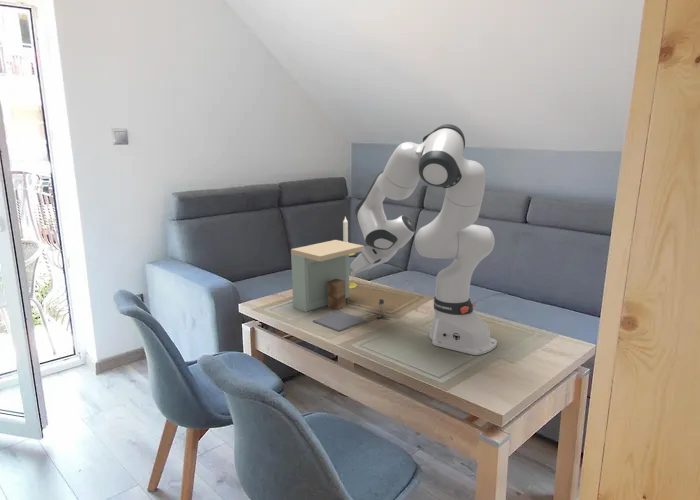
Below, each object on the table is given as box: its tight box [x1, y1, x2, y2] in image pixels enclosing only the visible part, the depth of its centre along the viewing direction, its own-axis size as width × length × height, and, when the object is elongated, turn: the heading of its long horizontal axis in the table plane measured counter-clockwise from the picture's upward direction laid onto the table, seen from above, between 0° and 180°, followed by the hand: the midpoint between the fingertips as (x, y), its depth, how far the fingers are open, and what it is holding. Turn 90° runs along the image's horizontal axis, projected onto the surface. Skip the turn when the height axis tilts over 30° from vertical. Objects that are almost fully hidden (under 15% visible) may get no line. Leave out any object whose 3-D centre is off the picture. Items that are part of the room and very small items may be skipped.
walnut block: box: [327, 279, 347, 311], centre depth 199 cm, size 5×5×11 cm
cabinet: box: [290, 239, 365, 313], centre depth 201 cm, size 17×24×24 cm
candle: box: [342, 215, 358, 290], centre depth 225 cm, size 10×10×32 cm
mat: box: [312, 310, 367, 333], centre depth 185 cm, size 14×14×1 cm
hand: (359, 271), depth 188 cm, fingers open, 8 cm apart
